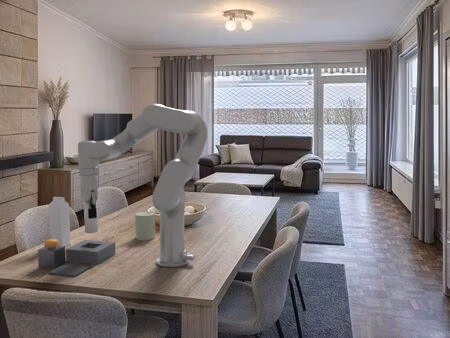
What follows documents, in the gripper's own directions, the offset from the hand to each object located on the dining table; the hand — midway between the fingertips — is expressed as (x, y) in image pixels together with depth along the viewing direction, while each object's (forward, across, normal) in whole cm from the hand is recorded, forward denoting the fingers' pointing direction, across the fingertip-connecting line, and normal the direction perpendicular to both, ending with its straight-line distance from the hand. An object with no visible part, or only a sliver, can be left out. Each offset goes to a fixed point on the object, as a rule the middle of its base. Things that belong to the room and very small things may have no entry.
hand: (90, 216), depth 184 cm
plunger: (+15, +3, -16) cm, 22 cm away
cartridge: (+6, 0, 0) cm, 6 cm away
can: (+18, -19, +29) cm, 39 cm away
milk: (+17, -24, -8) cm, 30 cm away
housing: (+17, 0, 0) cm, 17 cm away
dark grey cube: (+17, +2, -16) cm, 23 cm away
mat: (+17, +12, -11) cm, 23 cm away
